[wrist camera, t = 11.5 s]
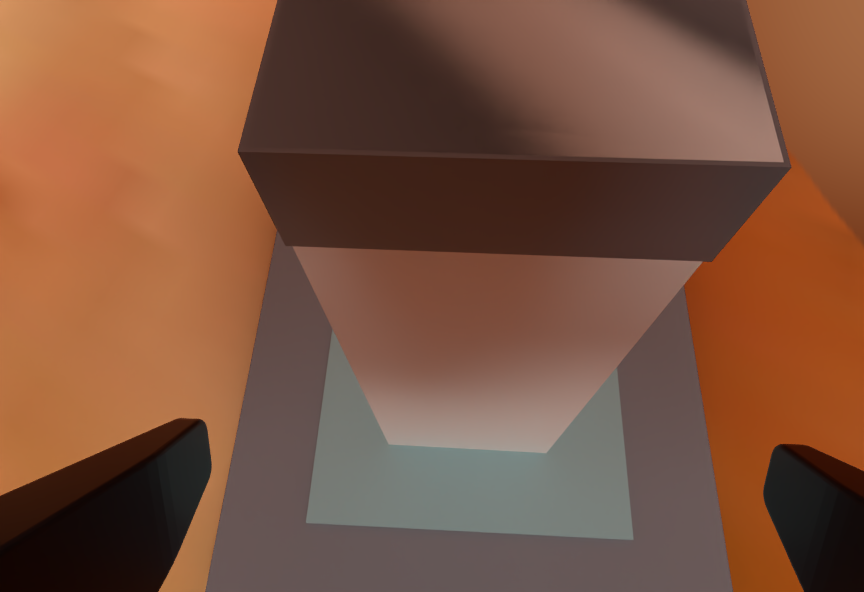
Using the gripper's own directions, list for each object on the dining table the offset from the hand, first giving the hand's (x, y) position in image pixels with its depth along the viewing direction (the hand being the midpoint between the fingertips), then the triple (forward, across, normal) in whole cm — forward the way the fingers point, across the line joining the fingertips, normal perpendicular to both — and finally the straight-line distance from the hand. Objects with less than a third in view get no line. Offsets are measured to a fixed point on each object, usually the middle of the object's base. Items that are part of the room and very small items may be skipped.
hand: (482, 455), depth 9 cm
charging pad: (+9, 0, +3) cm, 10 cm away
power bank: (+8, 0, +3) cm, 9 cm away
